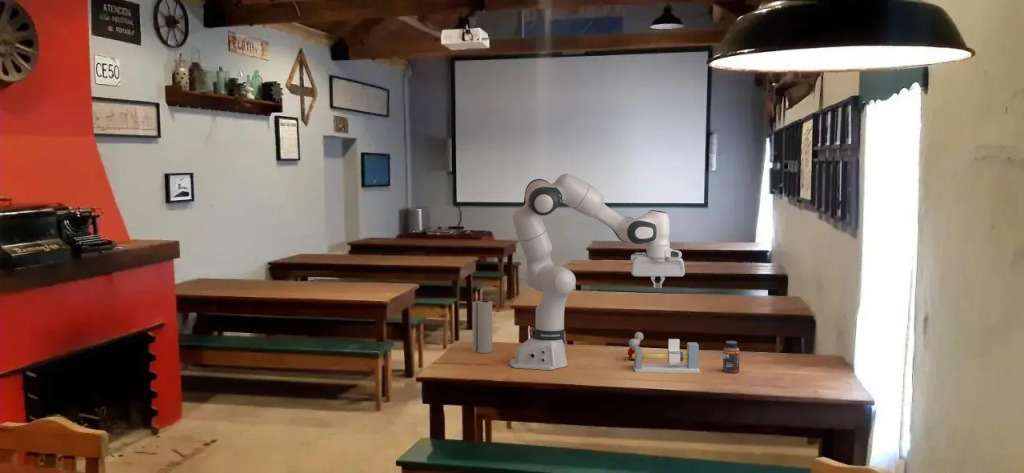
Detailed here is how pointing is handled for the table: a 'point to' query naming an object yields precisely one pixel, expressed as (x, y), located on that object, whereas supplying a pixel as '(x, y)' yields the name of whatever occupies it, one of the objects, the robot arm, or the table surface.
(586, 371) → the table surface
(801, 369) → the table surface
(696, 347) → the cord rig
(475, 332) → the grey grooved column
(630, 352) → the molecular model
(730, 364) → the supplement bottle
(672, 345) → the marker sleeve
